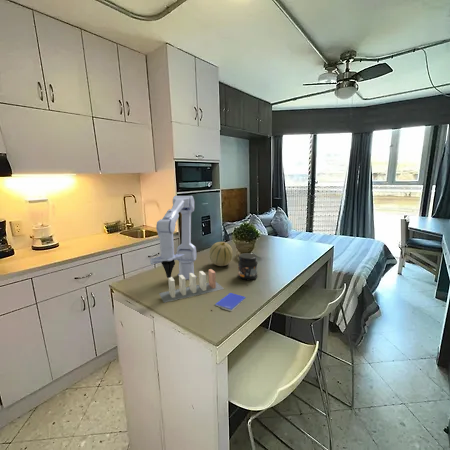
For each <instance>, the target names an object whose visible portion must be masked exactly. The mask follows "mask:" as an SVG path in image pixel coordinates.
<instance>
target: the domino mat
mask: <svg viewBox="0 0 450 450" xmlns="http://www.w3.org/2000/svg"><path fill="white" fill-rule="evenodd" d="M220 290H225V288H224V287H223V286H222V285H221V284H220V283H218V282H217V281H216V288H212V287H211V286H210V285H209V282H206V291H203V290H202V289H201V288H200V284H196V292H197V293H193V292H192V291H191V290H190V286H186V295H182V294H181V292H180V288H177V289H176V288H175V297H174V298H172V297H171V296H170V294H169V290H167V291H162V292H159V293H158V295H159V296H160V298H161V301H162V302H163V303H168V302H172V301H177V300H182V299H186V298H191V297H193V296H194V297H195V296H199V295H203V294H208V293H211V292H218V291H220Z"/></svg>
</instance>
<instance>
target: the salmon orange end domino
mask: <svg viewBox="0 0 450 450" xmlns="http://www.w3.org/2000/svg"><path fill="white" fill-rule="evenodd" d="M216 280H217V279H216V271H215V270H213V269H212V268H210V269H208V283H209V285H210V286H211V287H212V288H216V282H217V281H216Z"/></svg>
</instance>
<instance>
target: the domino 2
mask: <svg viewBox="0 0 450 450" xmlns="http://www.w3.org/2000/svg"><path fill="white" fill-rule="evenodd" d="M186 281H187V280H186V279H185V277H184V276H183V275H179V276H178V282H179V283H178V284H179V285H178V286H179V289H180V292H181V294H182V295H186V287H187V283H186Z"/></svg>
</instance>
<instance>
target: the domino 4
mask: <svg viewBox="0 0 450 450" xmlns="http://www.w3.org/2000/svg"><path fill="white" fill-rule="evenodd" d="M198 281H199V284H198V285H200V288H201V289H202V290H203V291H206V283H207V274H206V273H205V272H204V271H203V270H199V271H198Z"/></svg>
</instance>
